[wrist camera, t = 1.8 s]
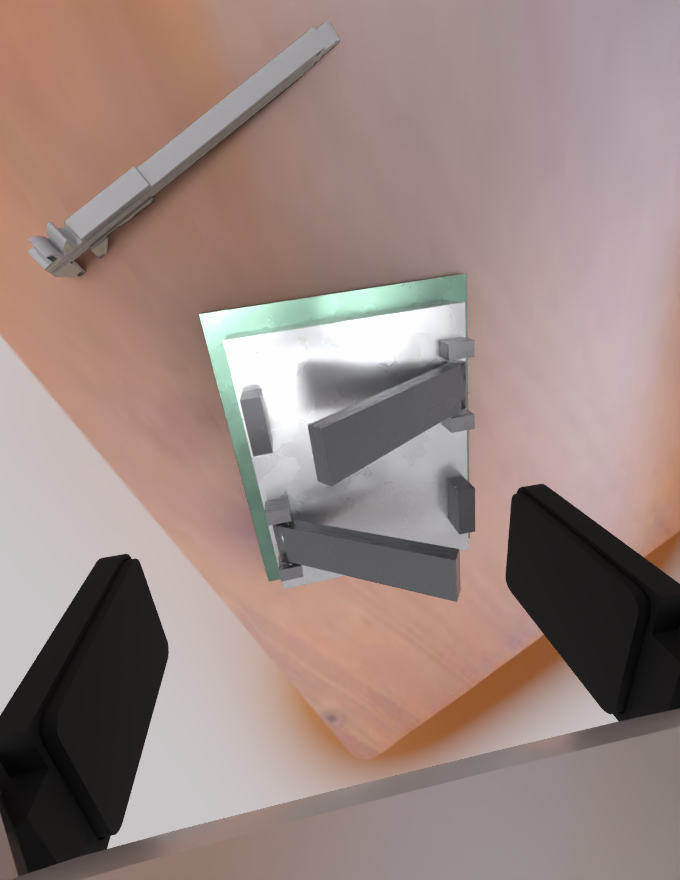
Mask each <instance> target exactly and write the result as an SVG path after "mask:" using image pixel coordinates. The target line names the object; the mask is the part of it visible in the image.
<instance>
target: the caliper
mask: <svg viewBox="0 0 680 880" xmlns="http://www.w3.org/2000/svg"><path fill="white" fill-rule="evenodd" d="M339 41H340V40H339V38H338V36H337V34H336V32H335V31H334V29H333V27H332V25H331V23H330V22H329V21H328V22H325V23H324V24H322V25H321V26H320V27H319V28H317V29H316V30H315V28H314V27H313V28H311V29H310V30H309V31H308V32H306V33H305V34H304V35H303V36H301V37H300V38H299V39H298V40H296V41H295V42H294V43H293V44H291V45H290V46H289V47H288V48H286V49H285V50H284V51H283V52H281V53H280V54H279V55H278V56H276V57H275V58H274V59H273V60H271V61H270V62H269V63H268V64H266V65H265V66H264V67H263V68H261V69H260V70H259V71H258V72H256V73H255V74H254V75H253V76H251V77H250V78H249V79H248V80H246V81H245V82H244V83H243V84H241V85H240V86H239V87H238V88H236V89H235V90H234V91H233V92H231V93H230V94H229V95H228V96H226V97H225V98H224V99H223V100H221V101H220V102H219V103H218V104H216V105H215V106H214V107H213V108H211V109H210V110H209V111H208V112H206V113H205V114H204V115H203V116H201V117H200V118H199V119H198V120H196V121H195V122H194V123H193V124H191V125H190V126H189V127H188V128H186V129H185V130H184V131H183V132H181V133H180V134H179V135H178V136H176V137H175V138H174V139H173V140H171V141H170V142H169V143H168V144H166V145H165V146H164V147H163V148H161V149H160V150H159V151H158V152H156V153H155V154H154V155H153V156H151V157H150V158H149V159H148V160H146V161H145V162H144V163H143V164H141V165H140V166H139V167H138V168H136V167H132V168H131V169H130V170H129V171H127V172H126V173H125V174H123V175H122V176H121V177H120V178H118V179H117V180H116V181H115V182H113V183H112V184H111V185H110V186H108V187H107V188H106V189H104V190H103V191H102V192H101V193H99V194H98V195H97V196H96V197H94V198H93V199H92V200H91V201H89V202H88V203H87V204H85V205H84V206H83V207H82V208H80V209H79V210H78V211H77V212H75V213H74V214H73V215H72V216H70V217H69V218H68V219H67V220H66V221H65V224H66V225H65V226H64V227H63V228H57V227H56V226H55V225H54V224H53V223H51V222H48V224H47V229H46V233H47V235H48V236H49V238H48V239H47V238H46V237H44V236H35V237H30V238H28V240H29V241H30V242H31V243H32V244H33V245H34V247H33V248H32V249H30V250H29V251H28V253H29V254H30V255H31V256H32V257H33V258H34V259H35V260H36V261H37V262H38V263H39V264H40V265H41V266H42V267H43V268H44V269H45V270H46V271H48V272H49V273H51V274H52V275H54V276H55V277H79V276H81V275H83V274H84V273H85V271H84V270H83V269H82V268H81V267H80V266H79V265H78V264H77V263H76V262H75V261H74V259H76V258H77V257H78V256H80V255H81V254H82V253H83V252H85V251H86V250H87V249H88V248H89V249H90V250H91V251H92V252H93V253H94V254H95V255H96V256H97V257H100V258H102V257H103V256H104V255H105V254H106V253H107V248H108V235H109V234H110V233H112V232H113V231H114V230H115V229H117V228H118V227H121V226H122V225H124V224H125V223H127V222H128V221H130V220H131V219H133V218H134V217H135V216H136V215H137V214H138V213H139V212H140V211H142V210H143V209H144V208H146V207H147V206H149V205H150V204H152V203H153V202H154V200H155V199H154V195H155V194H157V193H158V192H159V191H160V190H162V189H163V188H164V187H165V186H167V185H168V184H169V183H170V182H171V181H173V180H174V179H175V178H176V177H178V176H179V175H180V174H181V173H183V172H184V171H185V170H186V169H188V168H189V167H190V166H191V165H192V164H194V163H195V162H196V161H197V160H199V159H200V158H201V157H202V156H204V155H205V154H206V153H207V152H209V151H210V150H211V149H212V148H213V147H215V146H216V145H217V144H218V143H220V142H221V141H222V140H223V139H225V138H226V137H227V136H228V135H229V134H231V133H232V132H233V131H234V130H236V129H237V128H238V127H239V126H241V125H242V124H243V123H244V122H246V121H247V120H248V119H249V118H251V117H252V116H253V115H254V114H256V113H257V112H258V111H259V110H261V109H262V108H263V107H264V106H266V105H267V104H268V103H269V102H270V101H272V100H273V99H274V98H275V97H277V96H278V95H279V94H280V93H282V92H283V91H284V90H285V89H287V88H288V87H289V86H290V85H292V84H293V83H294V82H295V81H297V80H298V79H299V78H300V77H301V76H302V75H303V74H305V73H306V72H307V71H308V70H309V69H310V68H311V67H312V66H313V65H314V64H316V63H317V62H318V61H319V60H320V59H321V57H322V56H323V55H324V54H325V53H327V52H328V51H329V50H330V49H332V48H333V47H334V46H335V45H336V44H337V43H338V42H339Z"/></svg>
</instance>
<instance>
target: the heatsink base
mask: <svg viewBox="0 0 680 880" xmlns="http://www.w3.org/2000/svg"><path fill="white" fill-rule="evenodd" d="M199 316H200V320H201V324H202V328H203V332H204V335H205V339H206V343H207V347H208V351H209V355H210V358H211V362H212V366H213V370H214V374H215V378H216V381H217V385H218V389H219V393H220V397H221V401H222V404H223V408H224V412H225V416H226V420H227V423H228V427H229V431H230V435H231V439H232V443H233V446H234V450H235V454H236V458H237V462H238V466H239V469H240V473H241V477H242V481H243V485H244V489H245V492H246V496H247V500H248V504H249V508H250V512H251V515H252V519H253V523H254V527H255V531H256V535H257V538H258V542H259V546H260V550H261V554H262V558H263V561H264V565H265V569H266V573H267V577H268V581H273V580H278V579H281V581H282V584H283V588H284V589H286V588H291V587H295V586H300V585H304V584H309V583H314V582H318V581H323V580H327V579H332V578H337V577H341V576H346V575H342V574H338V573H333V572H329V571H325V570H321V569H316V568H312V567H308V566H304V565H300V564H295V563H291V562H283V561H281V559H280V555H279V551H278V547H277V542H276V538H275V534H274V530H273V526H272V525H275V524H279V523H284V522H289V521H291V519H294V520H300V521H305V522H311V523H317V524H322V525H328V526H333V527H339V528H345V529H350V530H356V531H361V532H367V533H372V534H378V535H384V536H389V537H395V538H400V539H406V540H412V541H417V542H423V543H428V544H434V545H440V546H445V547H451V548H456V549H459V551H461V550H465V549H468V538H470V532H474V531H475V488H474V487H473V486H472V485H471V484H470V483H469V447H468V430H470V429H475V425H474V414H473V413H471V412H470V411H468V366H467V358H469V357H474V340H472V339H468V338H467V285H466V274H456V275H449V276H443V277H436V278H429V279H423V280H416V281H410V282H403V283H397V284H390V285H383V286H377V287H370V288H364V289H357V290H351V291H344V292H338V293H331V294H324V295H318V296H311V297H305V298H298V299H292V300H285V301H278V302H272V303H265V304H259V305H252V306H246V307H239V308H233V309H226V310H219V311H213V312H206V313H201V314H199ZM457 360H462V361H466V376H467V408H466V409H463V410H461V411H459V412H457V413H455V414H454V415H452V416H450V417H449V418H447V419H445V420H444V421H442V422H440V423H438V424H437V425H435V426H433V427H432V428H430V429H428V430H427V431H425V432H423V433H421V434H420V435H418V436H416V437H415V438H413V439H411V440H410V441H408V442H406V443H405V444H403V445H401V446H399V447H398V448H396V449H394V450H393V451H391V452H389V453H388V454H386V455H384V456H382V457H381V458H379V459H377V460H376V461H374V462H372V463H371V464H369V465H367V466H365V467H364V468H362V469H360V470H359V471H357V472H355V473H354V474H352V475H350V476H349V477H347V478H345V479H343V480H342V481H340V482H338V483H337V484H335V485H333V486H332V487H331V486H328V485H326V484H323V483H321V482H318V481H317V475H316V470H315V464H314V458H313V453H312V447H311V442H310V436H309V430H308V424H310V423H313V422H315V421H317V420H320V419H322V418H324V417H326V416H329V415H331V414H333V413H335V412H338V411H340V410H342V409H345V408H347V407H349V406H351V405H354V404H356V403H358V402H360V401H363V400H365V399H367V398H370V397H372V396H374V395H376V394H379V393H381V392H383V391H385V390H388V389H390V388H392V387H394V386H397V385H399V384H401V383H404V382H406V381H408V380H410V379H413V378H415V377H417V376H419V375H422V374H424V373H426V372H429V371H431V370H433V369H435V368H438V367H440V366H442V365H444V364H447V363H448V362H450V361H457Z"/></svg>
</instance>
